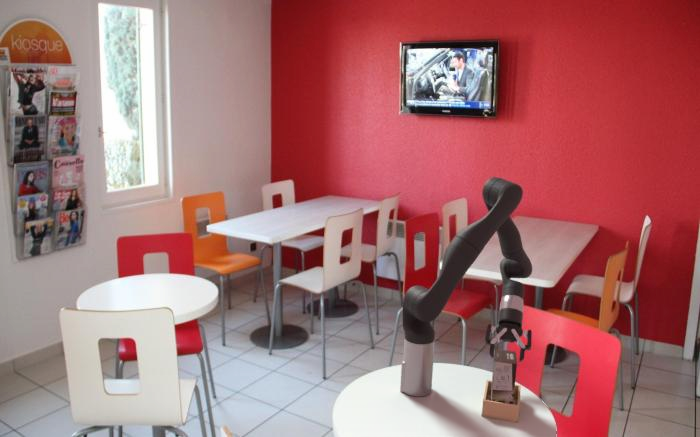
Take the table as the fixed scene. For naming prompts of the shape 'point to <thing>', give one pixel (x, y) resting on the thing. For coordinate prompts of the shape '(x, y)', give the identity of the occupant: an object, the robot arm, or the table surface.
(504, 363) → the coffee box
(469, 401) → the table surface
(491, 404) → the open box
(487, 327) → the robot arm
